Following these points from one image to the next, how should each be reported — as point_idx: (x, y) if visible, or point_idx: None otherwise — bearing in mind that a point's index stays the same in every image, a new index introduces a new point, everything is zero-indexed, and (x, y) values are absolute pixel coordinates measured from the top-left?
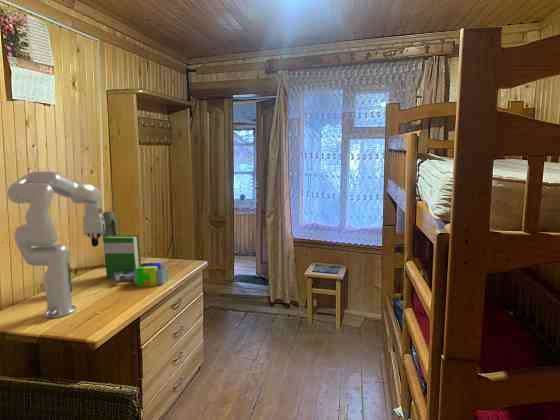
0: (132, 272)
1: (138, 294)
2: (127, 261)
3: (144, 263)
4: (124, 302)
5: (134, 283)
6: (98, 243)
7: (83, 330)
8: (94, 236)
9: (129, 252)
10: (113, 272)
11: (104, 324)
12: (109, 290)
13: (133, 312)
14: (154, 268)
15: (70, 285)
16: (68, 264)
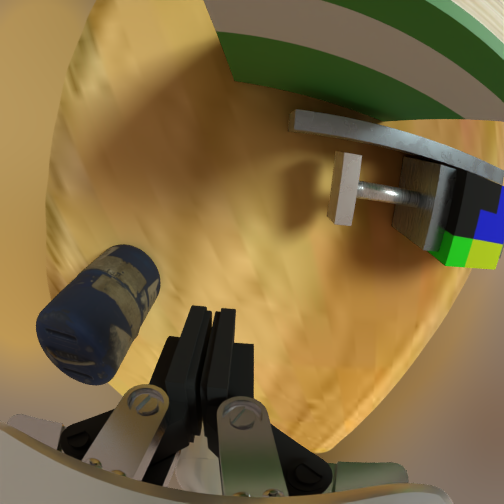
0: (395, 148)
1: (403, 312)
2: (391, 100)
3: (473, 176)
4: (366, 361)
5: (397, 228)
6: (253, 348)
7: (301, 442)
8: (163, 418)
9: (445, 103)
10: (295, 127)
11: (332, 431)
12: (304, 261)
13: (382, 399)
14: (491, 268)
15: (152, 292)
16: (114, 352)
